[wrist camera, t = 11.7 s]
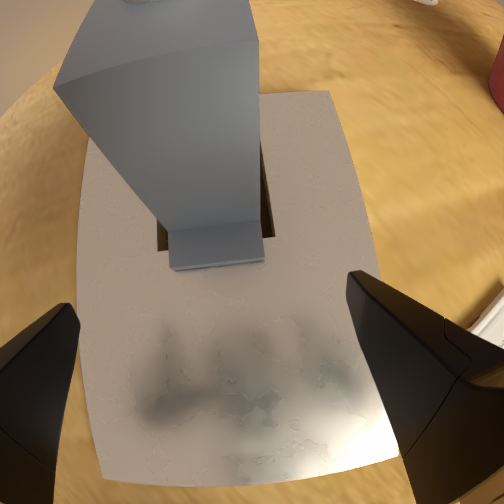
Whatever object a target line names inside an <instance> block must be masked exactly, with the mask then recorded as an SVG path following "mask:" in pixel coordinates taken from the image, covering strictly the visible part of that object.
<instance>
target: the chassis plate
mask: <svg viewBox="0 0 504 504" xmlns="http://www.w3.org/2000/svg"><path fill="white" fill-rule="evenodd" d="M259 99H260V159H261V165H262V171H263V178H264V184H265V191H266V197H267V204H268V210H269V217H270V224H271V230H272V237H270V238H263V246H264V254H265V260H261V261H253V262H244V263H235V264H226V265H218V266H209V267H200V268H191V269H182V270H171V269H170V268H169V250H168V245H167V230H166V229H165V228H164V227H163V225H162V224H161V223H160V222H159V221H158V220H157V218H156V217H155V216H154V215H153V214H152V213H151V211H150V210H149V209H148V208H147V207H146V206H145V204H144V203H143V202H142V201H141V200H140V198H139V197H138V196H137V195H136V194H135V192H134V191H133V190H132V189H131V188H130V186H129V185H128V184H127V183H126V182H125V180H124V179H123V178H122V177H121V175H120V174H119V173H118V172H117V171H116V169H115V168H114V167H113V166H112V164H111V163H110V162H109V161H108V159H107V158H106V157H105V156H104V154H103V153H102V152H101V151H100V149H99V148H98V147H97V146H96V144H95V143H94V142H93V140H92V139H91V138H90V137H89V140H88V146H87V152H86V158H85V165H84V172H83V180H82V188H81V197H80V208H79V220H78V235H77V261H76V297H77V317H78V319H79V321H80V325H81V329H80V334H79V350H80V360H81V369H82V377H83V385H84V392H85V398H86V404H87V410H88V416H89V421H90V426H91V431H92V436H93V440H94V445H95V449H96V453H97V457H98V461H99V465H100V469H101V473H102V476H103V479H107V480H113V481H120V482H128V483H137V484H147V485H159V486H177V487H227V486H245V485H258V484H268V483H277V482H285V481H292V480H298V479H305V478H310V477H316V476H321V475H326V474H331V473H336V472H340V471H345V470H349V469H353V468H357V467H361V466H364V465H368V464H372V463H375V462H379V461H382V460H385V459H388V458H392V457H395V456H398V444H397V441H396V439H395V436H394V433H393V430H392V427H391V425H390V422H389V419H388V416H387V414H386V411H385V408H384V406H383V403H382V400H381V398H380V395H379V392H378V390H377V387H376V385H375V382H374V380H373V377H372V374H371V372H370V369H369V367H368V364H367V362H366V360H365V357H364V355H363V352H362V350H361V347H360V345H359V342H358V339H357V336H356V332H355V329H354V325H353V322H352V318H351V315H350V311H349V308H348V304H347V301H346V284H347V275H348V273H349V272H350V271H356V270H362V271H364V272H366V273H368V274H369V275H371V276H373V277H375V278H377V279H378V280H380V281H381V277H380V272H379V266H378V261H377V256H376V252H375V247H374V242H373V238H372V233H371V229H370V225H369V220H368V216H367V212H366V208H365V204H364V200H363V197H362V193H361V189H360V185H359V182H358V178H357V175H356V171H355V168H354V164H353V161H352V158H351V154H350V151H349V148H348V145H347V141H346V138H345V135H344V132H343V129H342V126H341V123H340V120H339V117H338V115H337V112H336V109H335V106H334V103H333V101H332V98H331V95H330V92H329V91H299V92H281V93H267V94H259Z"/></svg>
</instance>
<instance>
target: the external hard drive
mask: <svg viewBox="0 0 504 504" xmlns="http://www.w3.org/2000/svg"><path fill="white" fill-rule="evenodd" d="M466 330H467V331H469V332H471V333H473V334H475V335H477V336H479V337H481V338H483V339H485V340H487V341H489V342H491V343H493V344H495V345H497V346H499V347H501V348H503V349H504V288H503V289H502V290H501V292H500V293H499V294H498V295H497V296H496V297H495V299H494V300H493V301H492V302H491V303H490V304H489V305H488V307H487V308H486V309H485V310H484V311H483V312H482V313H481V314H480V318H479V319H478V320H477V321H476V322H475V323H474V324H473V325H472V326H471V327H470V328H468V329H466Z"/></svg>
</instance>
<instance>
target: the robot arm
mask: <svg viewBox="0 0 504 504" xmlns="http://www.w3.org/2000/svg"><path fill="white" fill-rule="evenodd" d="M346 301H347V304H348V308H349V311H350V315H351V318H352V322H353V325H354V329H355V332H356V336H357V339H358V342H359V345H360V347H361V350H362V352H363V355H364V357H365V360H366V362H367V364H368V367H369V369H370V372H371V374H372V377H373V380H374V382H375V385H376V387H377V390H378V392H379V395H380V398H381V400H382V403H383V406H384V408H385V411H386V414H387V416H388V419H389V422H390V425H391V427H392V430H393V433H394V436H395V439H396V441H397V444H398V447H399V450H400V453H401V456H402V459H403V462H404V465H405V468H406V471H407V475H408V478H409V481H410V484H411V487H412V490H413V494H414V497H415V500H416V504H456V503H458V502H460V504H504V349H503V348H501V347H499V346H497V345H495V344H493V343H491V342H489V341H487V340H485V339H483V338H481V337H479V336H477V335H475V334H473V333H471V332H469V331H467V330H465V329H464V328H462V327H460V326H458V325H457V324H455V323H453V322H452V321H450V320H448V319H446V318H445V319H444V317H443V316H441V315H440V314H438V313H436V312H434V311H433V310H431V309H429V308H428V307H426V306H424V305H422V304H421V303H419V302H417V301H415V300H414V299H412V298H410V297H408V296H407V295H405V294H403V293H401V292H400V291H398V290H396V289H394V288H393V287H391V286H389V285H387V284H386V283H384V282H382V281H380V280H378V279H377V278H375V277H373V276H371V275H369V274H368V273H366V272H364V271H362V270H356V271H350V272H349V273H348V275H347V284H346ZM80 329H81V325H80V321H79V319H78V317H77V315H76V313H75V311H74V309H73V307H72V305H71V304H70V303H59V304H58V305H56V306H55V307H53V308H52V309H51V310H49V311H48V312H47V313H45V314H44V315H43V316H41V317H40V318H39V319H37V320H36V321H35V322H33V323H32V324H31V325H29V326H28V327H27V328H25V329H24V330H23V331H21V332H20V333H19V334H18V335H16V336H15V337H14V338H12V339H11V340H10V341H9V342H7V343H6V344H5V345H4V346H2V347H1V348H0V504H53V498H54V484H55V472H56V463H57V455H58V448H59V441H60V434H61V428H62V422H63V417H64V411H65V406H66V401H67V396H68V392H69V387H70V383H71V378H72V374H73V370H74V365H75V359H76V352H77V346H78V340H79V334H80Z"/></svg>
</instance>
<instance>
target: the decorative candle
mask: <svg viewBox="0 0 504 504" xmlns="http://www.w3.org/2000/svg"><path fill="white" fill-rule="evenodd" d="M413 1H415V2H419V3H422V4H425V5H431V6H434V5H437V4H438V0H413Z"/></svg>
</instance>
